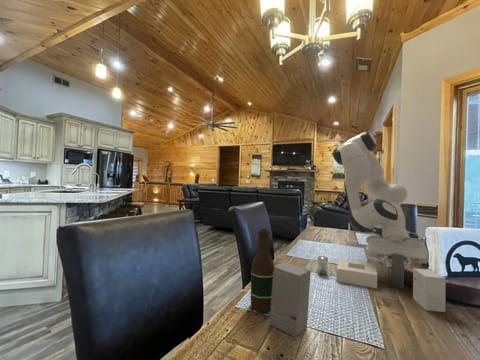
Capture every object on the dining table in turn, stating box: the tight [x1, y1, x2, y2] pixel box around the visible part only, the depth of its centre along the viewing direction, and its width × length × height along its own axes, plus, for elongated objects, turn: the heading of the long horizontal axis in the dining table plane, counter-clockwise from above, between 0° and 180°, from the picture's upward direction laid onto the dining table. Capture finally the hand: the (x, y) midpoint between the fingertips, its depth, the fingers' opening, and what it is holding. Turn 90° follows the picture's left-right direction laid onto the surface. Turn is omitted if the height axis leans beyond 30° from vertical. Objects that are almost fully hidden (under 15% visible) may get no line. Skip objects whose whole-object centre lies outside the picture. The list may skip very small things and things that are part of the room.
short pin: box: [317, 255, 329, 276], centre depth 105 cm, size 4×4×7 cm
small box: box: [412, 268, 446, 313], centre depth 79 cm, size 8×6×10 cm
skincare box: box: [269, 262, 312, 338], centre depth 67 cm, size 8×7×16 cm
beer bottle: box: [250, 228, 276, 314], centre depth 76 cm, size 8×8×24 cm
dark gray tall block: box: [390, 253, 405, 290], centre depth 93 cm, size 4×4×12 cm
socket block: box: [336, 258, 378, 289], centre depth 101 cm, size 14×14×5 cm
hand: (397, 269), depth 93 cm, fingers closed on dark gray tall block, 4 cm apart
